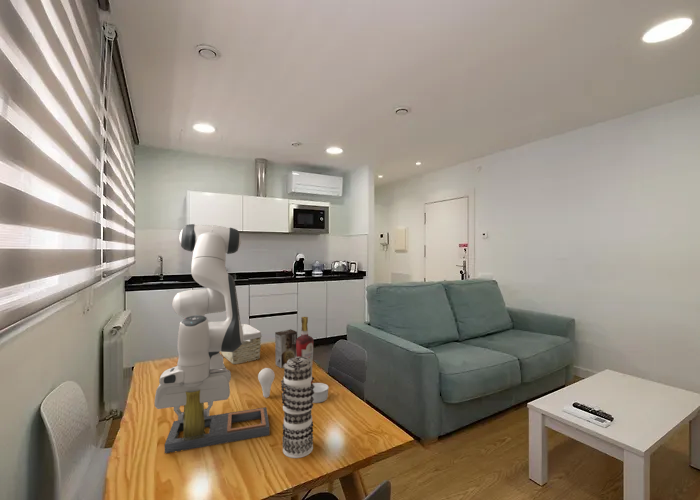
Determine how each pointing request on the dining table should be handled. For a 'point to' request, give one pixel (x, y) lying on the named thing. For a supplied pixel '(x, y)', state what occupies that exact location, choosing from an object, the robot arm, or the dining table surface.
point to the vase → (193, 415)
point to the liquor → (305, 343)
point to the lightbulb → (266, 380)
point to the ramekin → (320, 392)
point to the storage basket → (246, 346)
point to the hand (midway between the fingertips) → (193, 417)
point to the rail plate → (219, 430)
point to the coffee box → (285, 346)
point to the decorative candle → (297, 407)
